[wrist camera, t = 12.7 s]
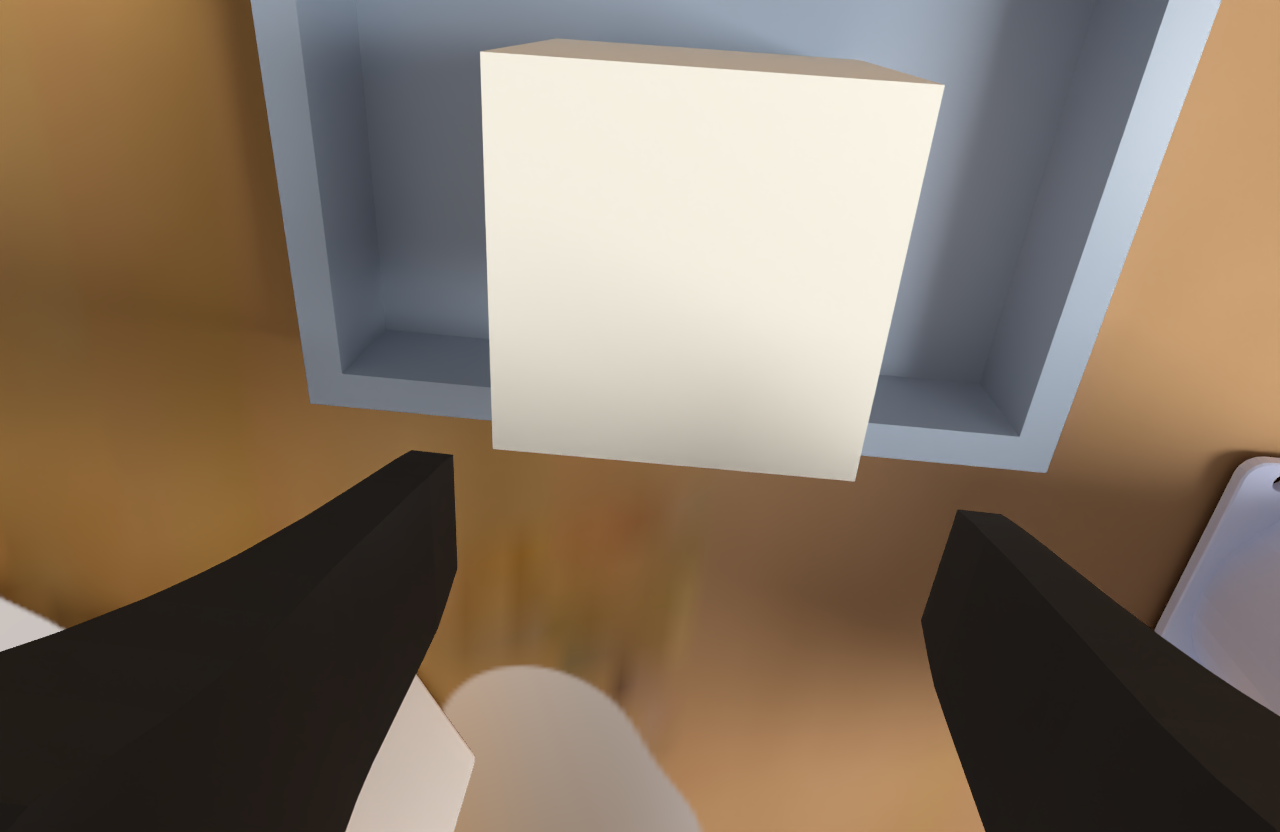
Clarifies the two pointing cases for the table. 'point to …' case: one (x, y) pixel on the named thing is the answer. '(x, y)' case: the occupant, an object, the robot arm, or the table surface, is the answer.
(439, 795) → the jar
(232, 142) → the table surface
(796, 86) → the white cube
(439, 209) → the tote
